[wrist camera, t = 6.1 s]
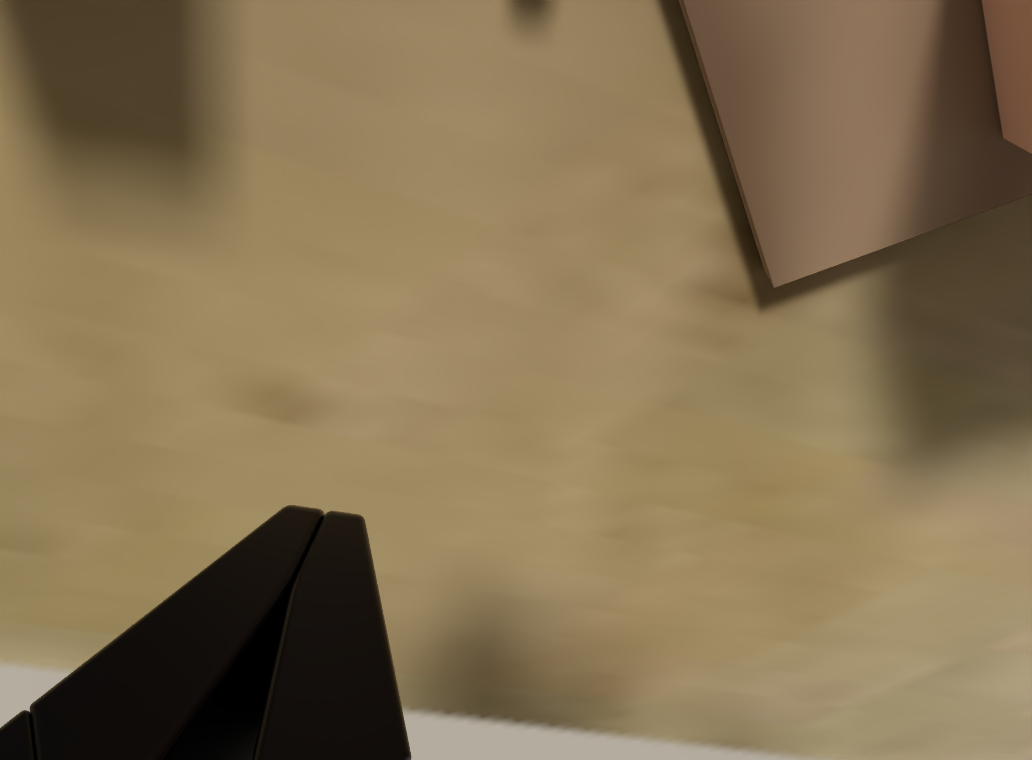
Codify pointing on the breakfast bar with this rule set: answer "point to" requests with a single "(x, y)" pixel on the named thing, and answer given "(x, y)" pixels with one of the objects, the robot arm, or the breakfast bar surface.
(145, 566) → the breakfast bar surface
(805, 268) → the plinth
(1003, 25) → the pink box
